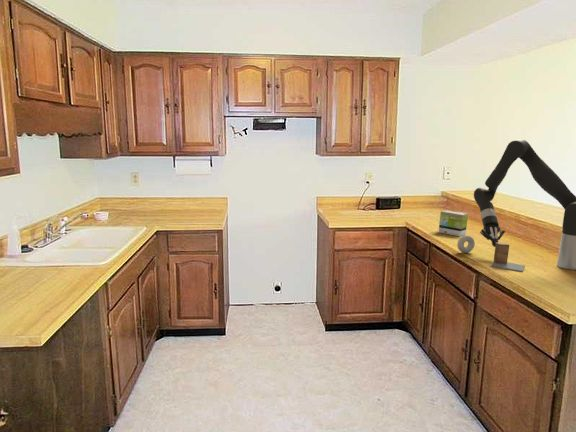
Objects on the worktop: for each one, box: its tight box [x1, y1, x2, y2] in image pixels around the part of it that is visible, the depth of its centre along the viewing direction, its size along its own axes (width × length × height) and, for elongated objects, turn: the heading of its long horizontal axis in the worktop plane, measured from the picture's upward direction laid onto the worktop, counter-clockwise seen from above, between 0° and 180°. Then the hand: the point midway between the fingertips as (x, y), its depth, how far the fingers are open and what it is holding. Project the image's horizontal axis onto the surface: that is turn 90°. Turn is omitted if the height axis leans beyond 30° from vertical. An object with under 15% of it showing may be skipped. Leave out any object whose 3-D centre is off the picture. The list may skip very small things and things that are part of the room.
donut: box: [456, 234, 476, 254], centre depth 239 cm, size 10×4×10 cm, turn 102°
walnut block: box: [493, 242, 510, 264], centre depth 220 cm, size 4×5×10 cm
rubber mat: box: [490, 261, 526, 273], centre depth 216 cm, size 14×12×1 cm
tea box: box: [438, 209, 469, 237], centre depth 289 cm, size 15×10×15 cm, turn 47°
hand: (495, 246), depth 227 cm, fingers closed
